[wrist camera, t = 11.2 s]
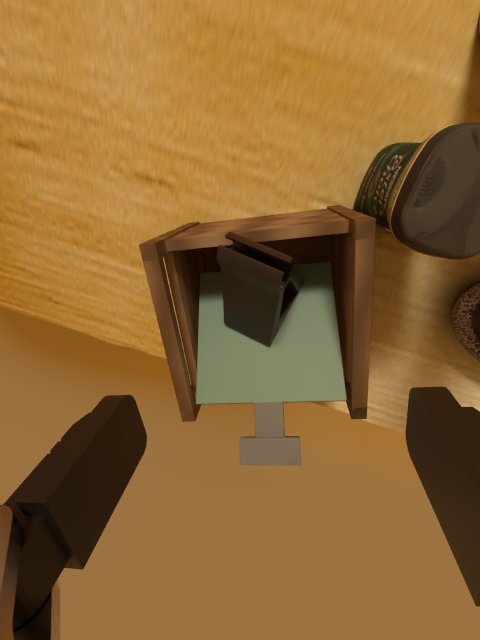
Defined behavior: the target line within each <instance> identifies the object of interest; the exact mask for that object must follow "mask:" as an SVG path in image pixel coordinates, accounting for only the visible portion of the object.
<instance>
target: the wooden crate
mask: <svg viewBox="0 0 480 640" xmlns="http://www.w3.org/2000/svg"><path fill="white" fill-rule="evenodd" d="M375 230H376V218H373V217H370V216H367V215H365V214H362V213H359V212H356V211H354V210H351V209H348V208H346V207H343V206H340V205H337V206H329V207H327V209H321V210H312V211H304V212H295V213H287V214H278V215H270V216H261V217H253V218H244V219H236V220H227V221H219V222H210V223H202V224H200V223H199V222H194V223H188V224H186V225H183V226H181V227H179V228H176V229H174V230H172V231H169V232H167V233H165V234H163V235H160V236H158V237H156V238H153V239H151V240H149V241H147V242H144V243H142V244H140V245H139V247H140V251H141V255H142V259H143V263H144V267H145V271H146V275H147V280H148V284H149V288H150V292H151V296H152V300H153V304H154V308H155V312H156V316H157V320H158V324H159V328H160V332H161V336H162V340H163V344H164V348H165V352H166V357H167V361H168V365H169V369H170V372H171V377H172V381H173V385H174V389H175V393H176V397H177V401H178V405H179V409H180V413H181V417H182V421H195V420H196V418H197V415H198V412H199V409H200V406H201V404H196V391H197V360H198V329H199V298H200V274H201V273H206V270H205V264H204V258H203V252H202V248H206V247H215V246H219V245H222V246H225V245H232V244H233V241H231V240H229V239H226V238H225V235H226V234H227V233H228V232H233V233H235V234H238V235H240V236H243V237H245V238H248V239H250V240H252V241H255V242H263V241H273V240H282V239H292V238H301V237H311V236H320V235H330V264H331V273H332V281H333V290H334V298H335V307H336V315H337V324H338V332H339V340H340V349H341V357H342V366H343V374H344V383H345V391H346V403H347V406H348V409H349V413H350V416H351V419H367V399H368V378H369V356H370V335H371V314H372V293H373V272H374V251H375ZM162 257H164V259H165V264H166V269H167V273H168V278H169V282H170V287H171V291H172V296H173V301H174V305H175V310H176V314H177V319H178V323H179V328H180V333H181V337H182V342H183V346H184V351H185V355H186V360H187V364H188V369H189V374H190V378H191V383H192V385H191V384H190V380H189V376H188V371H187V366H186V362H185V357H184V353H183V348H182V344H181V339H180V335H179V330H178V326H177V321H176V316H175V312H174V307H173V303H172V298H171V294H170V289H169V285H168V280H167V276H166V271H165V267H164V262H163V258H162Z"/></svg>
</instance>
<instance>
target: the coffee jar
mask: <svg viewBox="0 0 480 640" xmlns="http://www.w3.org/2000/svg"><path fill="white" fill-rule="evenodd" d="M355 211H356V212H359V213H362V214H365V215H367V216H370V217H373V218H376V230H377V231H380V232H384V233H388V234H392V235H393V237H394V238H395V239H396V240H397V241H398V242H399V243H400V244H402V245H403V246H405V247H407V248H409V249H411V250H413V251H415V252H418V253H421V254H425V255H429V256H434V257H443V258H448V259H465V258H470V257H472V256H474V255H476V254H478V253H480V124H478V123H457V124H452V125H449V126H446V127H444V128H442V129H440V130H438V131H437V132H435V133H434V134H432V135H431V136H430V137H428V138H427V139H426V140H425V141H423V142H422V143H396V144H392V145H389V146H387V147H385V148H384V149H382V150H381V151H380V152H379V153H378V154H377V155H376V157H375V158H374V160H373V162H372V163H371V165H370V167H369V169H368V171H367V172H366V174H365V177H364V179H363V181H362V183H361V186H360V189H359V192H358V194H357V198H356V201H355Z"/></svg>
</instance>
